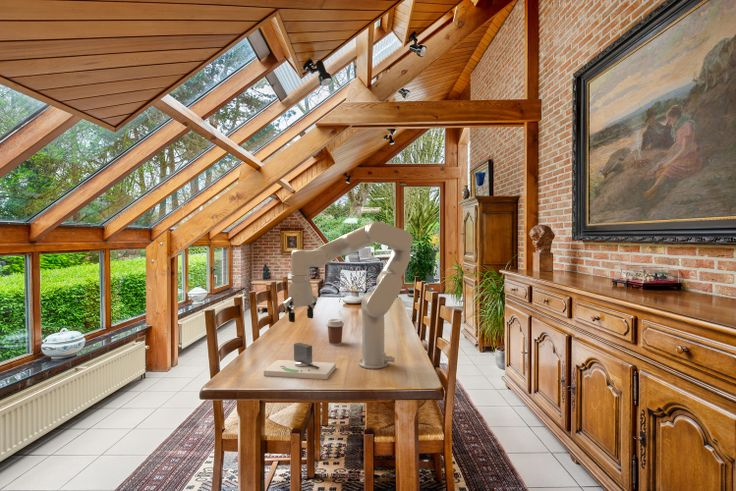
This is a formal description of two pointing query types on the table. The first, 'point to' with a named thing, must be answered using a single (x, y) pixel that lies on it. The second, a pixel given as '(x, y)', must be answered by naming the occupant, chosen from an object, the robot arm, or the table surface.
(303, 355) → the grey boxy piece
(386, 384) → the table surface
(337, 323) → the coffee cup
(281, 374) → the dial board
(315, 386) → the table surface
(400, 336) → the table surface
